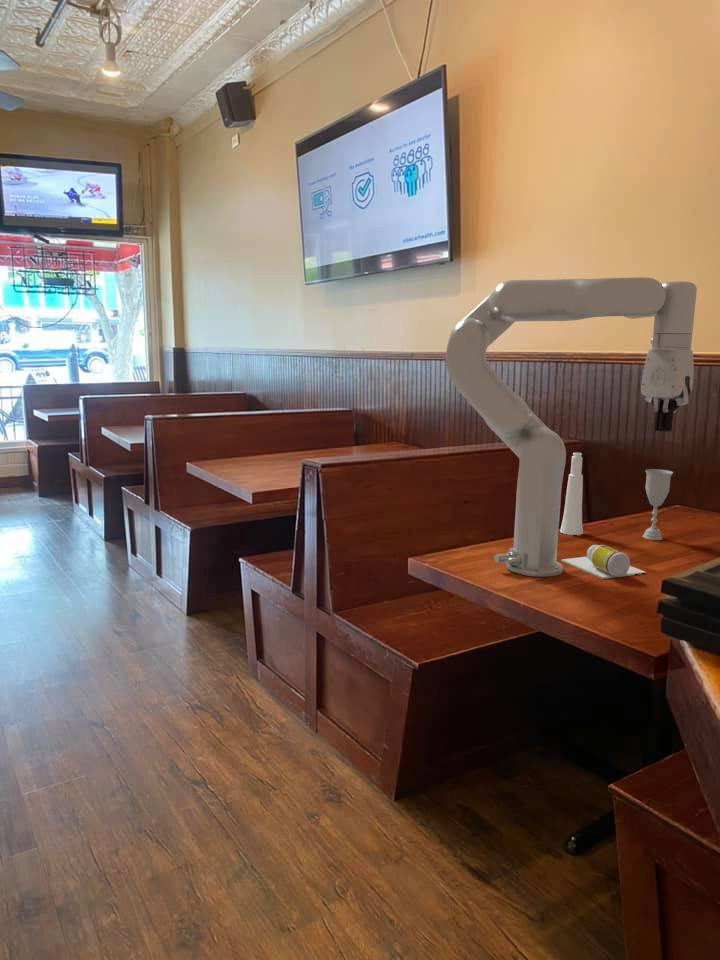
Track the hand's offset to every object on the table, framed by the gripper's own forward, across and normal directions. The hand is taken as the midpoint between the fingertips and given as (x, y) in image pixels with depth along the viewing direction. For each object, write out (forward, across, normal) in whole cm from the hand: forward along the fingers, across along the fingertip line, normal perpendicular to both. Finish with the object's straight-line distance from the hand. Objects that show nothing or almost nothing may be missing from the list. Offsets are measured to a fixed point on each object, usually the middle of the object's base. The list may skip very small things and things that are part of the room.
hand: (663, 430), depth 149 cm
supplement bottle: (+29, 0, -9) cm, 30 cm away
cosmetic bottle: (+32, -36, +8) cm, 49 cm away
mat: (+32, -8, -6) cm, 34 cm away
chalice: (+32, -25, +26) cm, 48 cm away
